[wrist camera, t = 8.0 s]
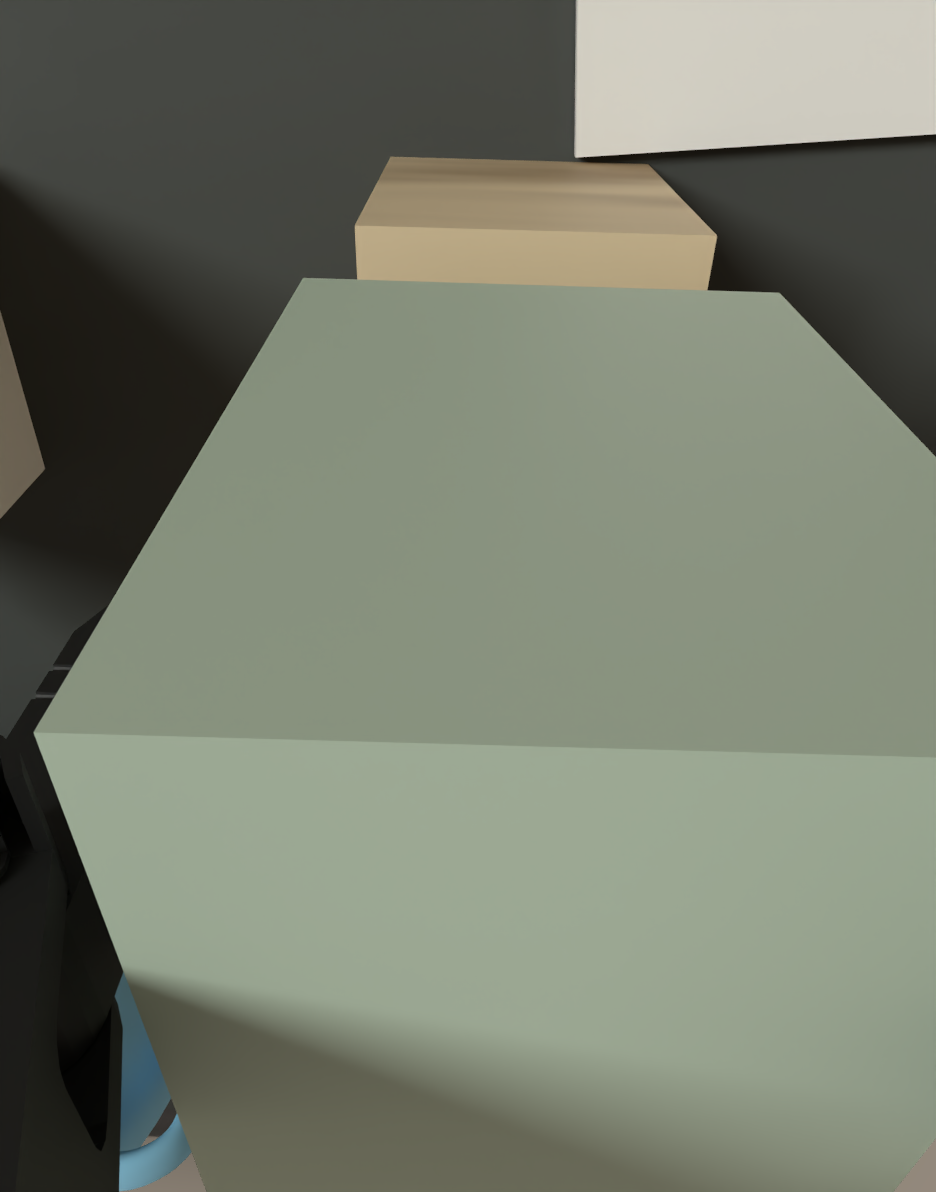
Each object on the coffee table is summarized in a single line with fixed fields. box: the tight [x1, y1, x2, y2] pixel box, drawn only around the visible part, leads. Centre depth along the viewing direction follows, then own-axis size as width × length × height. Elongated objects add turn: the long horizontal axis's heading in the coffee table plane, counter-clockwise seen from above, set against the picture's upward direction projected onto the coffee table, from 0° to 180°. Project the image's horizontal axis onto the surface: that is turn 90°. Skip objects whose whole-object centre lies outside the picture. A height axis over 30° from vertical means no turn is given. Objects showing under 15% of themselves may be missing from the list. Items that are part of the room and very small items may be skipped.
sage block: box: [33, 278, 936, 1192], centre depth 9 cm, size 6×6×8 cm
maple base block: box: [355, 157, 717, 290], centre depth 16 cm, size 7×5×6 cm
